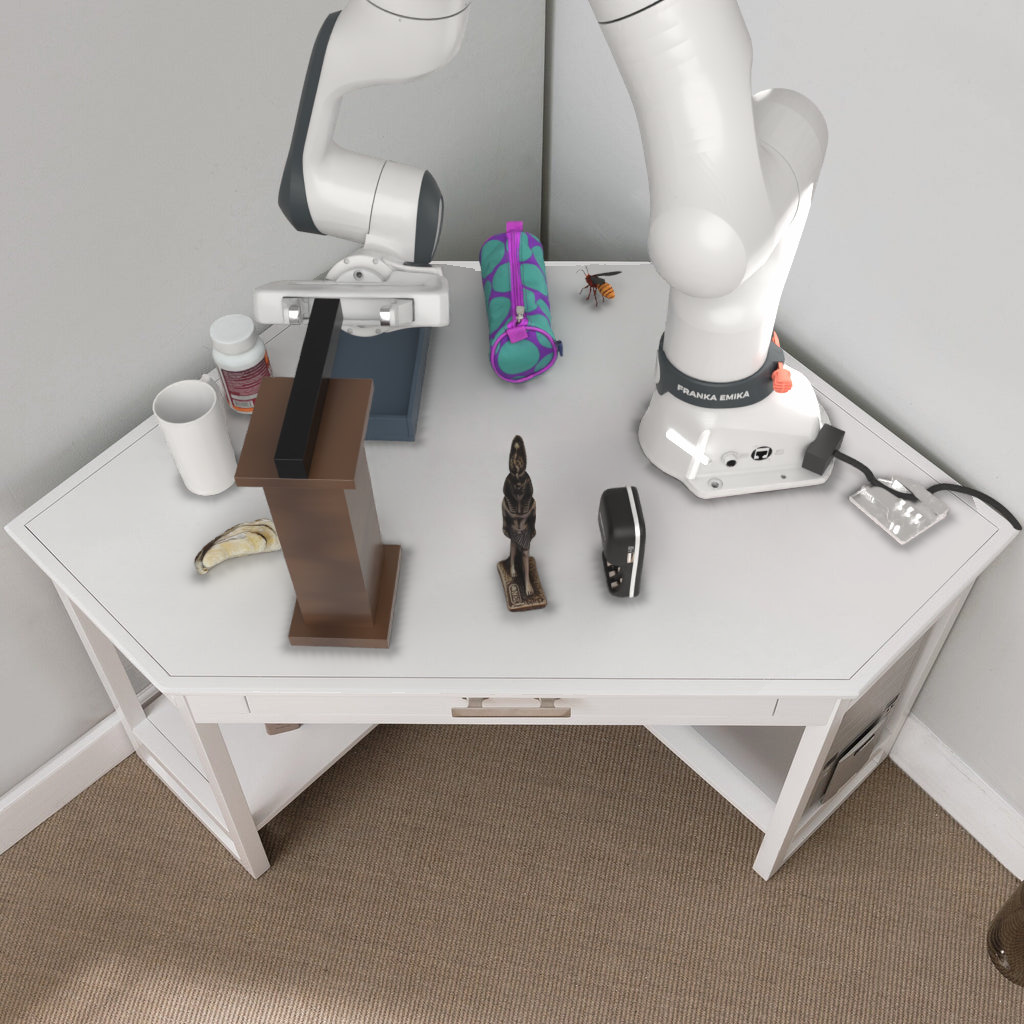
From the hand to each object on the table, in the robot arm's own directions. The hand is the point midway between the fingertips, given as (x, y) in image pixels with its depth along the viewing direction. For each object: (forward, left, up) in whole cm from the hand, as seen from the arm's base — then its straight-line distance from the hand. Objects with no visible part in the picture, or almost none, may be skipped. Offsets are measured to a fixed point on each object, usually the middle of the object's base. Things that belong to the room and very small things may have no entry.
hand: (339, 317), depth 104 cm
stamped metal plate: (-59, +3, -24) cm, 64 cm away
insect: (-26, -31, -24) cm, 47 cm away
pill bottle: (+16, -12, -24) cm, 31 cm away
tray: (+2, -18, -24) cm, 30 cm away
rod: (0, +13, +2) cm, 13 cm away
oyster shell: (+12, +12, -24) cm, 29 cm away
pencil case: (-16, -25, -24) cm, 38 cm away
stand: (0, +17, -24) cm, 29 cm away
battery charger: (-28, +13, -24) cm, 39 cm away
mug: (+18, -1, -24) cm, 30 cm away
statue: (-18, +15, -24) cm, 33 cm away
